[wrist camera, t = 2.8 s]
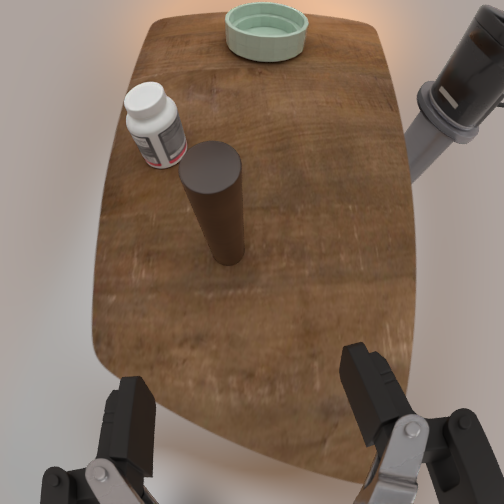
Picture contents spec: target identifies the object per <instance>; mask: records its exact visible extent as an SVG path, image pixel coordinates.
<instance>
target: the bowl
mask: <svg viewBox="0 0 504 504" xmlns="http://www.w3.org/2000/svg"><path fill="white" fill-rule="evenodd" d="M308 25H309V23H308V20H307V18H306V16H305V15H304V14H303V13H302V12H300V11H298V10H296V9H295V8H292V7H289V6H286V5H283V4H277V3H271V2H256V3H248V4H244V5H240V6H237V7H235V8H233V9H231V10H230V11H229V12H228V13H227V14H226V18H225V29H226V43H227V45H228V47H229V49H230V50H232V51H233V52H234V53H235V54H237V55H239V56H242V57H244V58H247V59H250V60H254V61H260V62H277V61H282V60H287V59H290V58H293V57H295V56H297V55H298V54H300V53H301V52H302V51H303V48H304V46H305V41H306V36H307V30H308Z"/></svg>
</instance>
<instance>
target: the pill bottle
mask: <svg viewBox="0 0 504 504" xmlns="http://www.w3.org/2000/svg"><path fill="white" fill-rule="evenodd" d="M124 105H125V108H126V110H127V112H128V114H127V117H126V125H127V128H128V130H129V132H130V133H131V135H132V137H133V139H134V141H135V143H136V144H137V146H138V148H139V150H140V152H141V154H142V156H143V157H144V159H145V160H146V162H147V163H148V164H149V165H150V166H152V167H154V168H160V169H162V168H168V167H171V166H173V165H175V164H177V163H178V162H179V161H180V160H181V159H182V157H183V155H184V154H185V153H186V151H187V141H186V137H185V134H184V131H183V127H182V124H181V121H180V117H179V114H178V110H177V107H176V105H175V103H174V101H173V100H172V99H171V98H169V97H167V96H166V94H165V92H164V89H163V87H162V86H161V85H160V84H158V83H156V82H146V83H142V84H140V85H138V86H136V87H134V88H133V89H131V90H130V91H129V92H128V94H127V95H126V97H125V99H124Z"/></svg>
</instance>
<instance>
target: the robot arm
mask: <svg viewBox="0 0 504 504" xmlns="http://www.w3.org/2000/svg"><path fill="white" fill-rule="evenodd" d="M428 96H429V99H430V102H431V103H432V105H433V107H434V108H435V110H436V111H437V112H438V113H439V114H440V115H441V116H442V117H443V118H444V119H445V120H446V121H447V122H448V123H450V124H451V125H453V126H454V127H456V128H458V129H461V130H465V131H468V130H471V129H472V128H473V127H475V128H477V127H478V126H479V125H480V124H481V122H482V121H483V120H484V119H485V118H486V117H487V116H488V115H489V114H490V113H491V112H492V111H493V110H494V108H495V107H496V106H497V107H504V103H500V102H501V101H502V100H503V98H504V11H501V10H499V9H497V8H495V7H492V6H490V5H482V6H481V7H480V8H479V10H478V11H477V13H476V15H475V17H474V18H473V20H472V22H471V24H470V25H469V27H468V29H467V31H466V32H465V34H464V36H463V37H462V39H461V41H460V42H459V44H458V46H457V47H456V49H455V51H454V52H453V54H452V55H451V57H450V59H449V60H448V62H447V63H446V65H445V67H444V68H443V70H442V71H441V73H440V74H439V76H438V78H437V79H436V81H435V82H434V84H433V85H432V86H431V87H430V89H429V91H428ZM339 373H340V379H341V382H342V385H343V387H344V390H345V392H346V395H347V397H348V400H349V403H350V405H351V408H352V410H353V413H354V415H355V418H356V421H357V423H358V426H359V428H360V431H361V434H362V436H363V439H364V442H365V444H366V447H369V446H372V445H375V447H376V450H377V452H376V455H375V457H374V460H373V462H372V465H371V467H370V470H369V472H368V475H367V477H366V480H365V482H364V484H363V486H362V489H361V491H360V492H359V495H358V496H357V497H356V499H355V501H354V503H353V504H413V502H414V500H415V497H416V493H417V489H418V484H417V482H416V479H417V475H418V472H419V469H420V465H421V463H426V465H427V468H428V471H429V474H430V477H431V480H432V483H433V486H434V489H435V492H436V495H437V498H438V501H439V504H504V477H503V475H502V472H501V470H500V468H499V465H498V462H497V460H496V458H495V455H494V453H493V450H492V448H491V446H490V444H489V442H488V439H487V437H486V435H485V433H484V431H483V428H482V426H481V424H480V422H479V420H478V418H477V416H476V415H475V413H474V412H472V411H471V410H469V409H465V408H462V409H458V410H456V411H454V412H453V413H452V414H451V416H450V417H443V418H434V419H427V418H423V417H421V416H419V415H417V414H416V413H415V412H414V411H413V410H412V408H411V406H410V404H409V402H408V401H407V398H406V396H405V394H404V392H403V391H402V389H401V387H400V385H399V383H398V381H397V380H396V377H395V375H394V374H393V372H392V371H391V368H390V366H389V364H388V362H387V361H386V359H385V358H384V357H382V356H381V355H380V354H379V353H378V352H376V351H375V352H372V353H369V352H368V350H367V348H366V346H365V345H364V343H363V342H359V343H355V344H351V345H347V346H344V347H343V350H342V356H341V362H340V368H339ZM104 411H105V414H104V416H103V423H102V427H101V433H100V439H99V446H98V452H97V456H96V459H95V460H93V461H91V462H90V463H89V464H88V466H87V467H86V468H83V469H77V470H72V471H67V472H66V471H65V470H63V469H62V468H60V467H50V468H49V469H47V470H46V471H45V473H44V475H43V479H42V489H41V501H40V504H159V503H158V502H157V501H156V500H155V499H154V497H153V496H152V495H151V494H150V492H149V491H148V490H147V488H146V487H145V486H144V485H143V482H144V477H153V476H152V475H153V448H154V431H155V430H154V429H155V416H156V403H155V399H154V396H153V395H152V393H151V391H150V390H149V388H148V387H147V385H146V384H145V382H144V380H143V379H142V377H140V376H133V377H122V378H121V381H120V386H119V390H113V391H112V392H111V394H110V396H109V397H108V399H107V400H106V405H105V410H104Z"/></svg>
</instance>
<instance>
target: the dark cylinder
mask: <svg viewBox="0 0 504 504" xmlns="http://www.w3.org/2000/svg"><path fill="white" fill-rule="evenodd" d="M179 177H180V179H181V182H182V184H183V187H184V189H185V191H186V194H187V196H188V199H189V201H190V203H191V206H192V208H193V210H194V213H195V215H196V217H197V220H198V222H199V224H200V227H201V229H202V231H203V233H204V236H205V238H206V240H207V243H208V245H209V247H210V249H211V252H212V254H213V256H214V258H215V260H216V261H217V262H219V263H220V264H222V265H227V266H229V265H234V264H236V263H238V262H239V261H240V260H241V259H242V257H243V255H244V225H243V195H242V164H241V159H240V156H239V154H238V153H237V151H236V150H235V149H234V148H233V147H231V146H230V145H228V144H226V143H223V142H219V141H206V142H202V143H199V144H197V145H195V146H193V147H191V148H190V149H189V150H188V151H187V152H186V153H185V154H184V155H183V157H182V159H181V161H180V164H179Z"/></svg>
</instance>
